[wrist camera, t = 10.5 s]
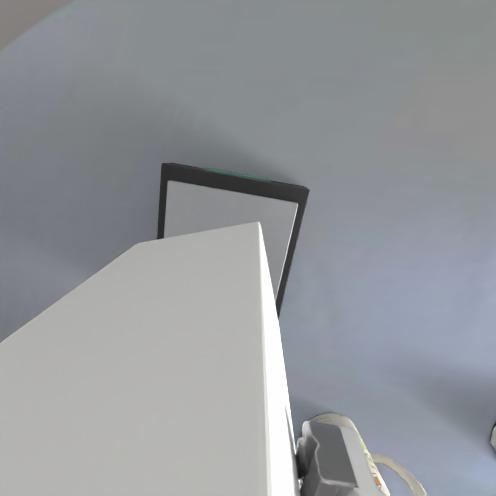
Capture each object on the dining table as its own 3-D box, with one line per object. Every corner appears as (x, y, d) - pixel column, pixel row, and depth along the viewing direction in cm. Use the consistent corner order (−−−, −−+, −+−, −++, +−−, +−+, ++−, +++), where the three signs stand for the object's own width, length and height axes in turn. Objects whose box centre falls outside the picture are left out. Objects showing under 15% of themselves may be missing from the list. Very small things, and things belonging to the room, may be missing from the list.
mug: (300, 400, 29) (321, 518, 19) (411, 413, 29) (488, 537, 19) (287, 452, 31) (300, 578, 22) (389, 464, 32) (447, 594, 22)
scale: (172, 160, 21) (158, 160, 18) (304, 184, 21) (312, 188, 18) (162, 301, 25) (149, 319, 22) (272, 319, 26) (275, 339, 23)
